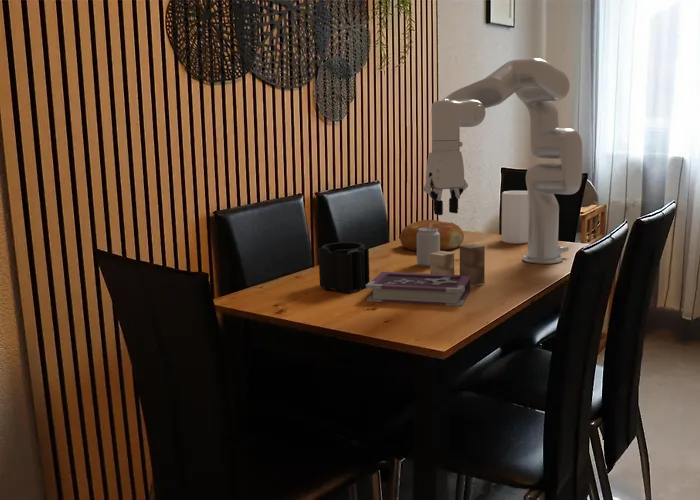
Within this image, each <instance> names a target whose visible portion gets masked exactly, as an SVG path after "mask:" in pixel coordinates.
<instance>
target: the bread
mask: <svg viewBox="0 0 700 500" xmlns="http://www.w3.org/2000/svg"><path fill="white" fill-rule="evenodd" d="M420 228H437V229H438V230H437V231H438V232H439V233H440V251H451V250H455V249H457V248H458V247H460V246H462V243H464V239H465V235H464V232H463V229H462V228H461V227H460V226H459V225H458V224H456V223H454V222H447V221H442V220H441V221H440V220H435V219H422V220H418V221H415V222H412V223H411V222H410V224H408V225H407V226H405V227H404V228H403V229H402V230H401V232H400V236H399V239H400V243H401V245H402V246H403V247H404V248H405V249H407V250H409V251H410V250H411V251H415V252H417V233H418V232H419V230H418V229H420Z"/></svg>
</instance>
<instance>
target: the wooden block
mask: <svg viewBox="0 0 700 500" xmlns="http://www.w3.org/2000/svg"><path fill="white" fill-rule="evenodd" d="M485 248H486V246H484V245H481V244H476V243H469V244H463V245H462V244H461V245H460V246H459V275H471V287H476V286H481V285H485V269H486V268H485V261H486V260H485V257H486V256H485V255H486V251H485Z"/></svg>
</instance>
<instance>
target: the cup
mask: <svg viewBox="0 0 700 500" xmlns="http://www.w3.org/2000/svg"><path fill="white" fill-rule="evenodd" d="M528 209H529V202H528V191H527V190H507V191H506V190H505V191H503V192H502V193H501V242H502V243H506V244H512V245H514V244H516V245H517V244H518V245H519V244H520V245H522V244H528Z"/></svg>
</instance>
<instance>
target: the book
mask: <svg viewBox="0 0 700 500" xmlns="http://www.w3.org/2000/svg"><path fill="white" fill-rule="evenodd" d="M471 287H472V286H471V275H460V274H454V275H449V274H430V273H425V272H424V273H422V272H421V273H420V272H419V273H418V272H399V271H398V272H397V271H396V272H395V271H394V272H393V271H381V273H378V275H377V276H375V277H374V278H373V279H372V280H370V282H369V283H368V284H366V286H365V288H366V289H369V290H371V289H372V294H371V295H370V296H368V298H367V299H366V302H376V303H378V302H379V303H394V304H395V303H396V304H414V305H415V304H416V305H433V306H448V307H451V306H452V307H463V305H464V303H465V301H466V300H467V297H468V296H469V295H470V293H471V291H472V290H471Z"/></svg>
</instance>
